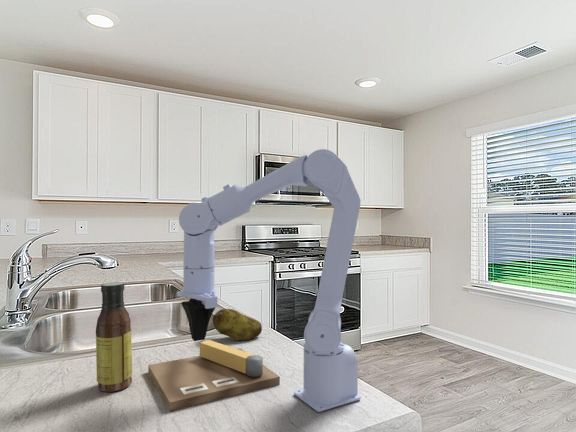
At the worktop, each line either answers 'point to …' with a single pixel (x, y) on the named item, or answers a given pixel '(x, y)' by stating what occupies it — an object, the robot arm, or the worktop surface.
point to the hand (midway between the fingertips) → (198, 339)
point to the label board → (203, 381)
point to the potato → (236, 325)
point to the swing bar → (232, 358)
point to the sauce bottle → (113, 340)
